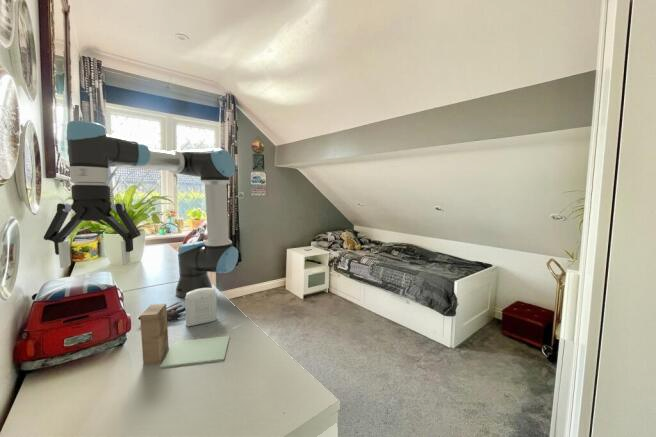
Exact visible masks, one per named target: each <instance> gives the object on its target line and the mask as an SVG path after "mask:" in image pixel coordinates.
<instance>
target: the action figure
mask: <svg viewBox="0 0 656 437" xmlns="http://www.w3.org/2000/svg"><path fill="white" fill-rule="evenodd" d="M180 303H181V301H177V302H176V303H173V304H171V305H169V306H168V307H167V306H166V310H167V322H176V321H180V318H183V317H186V314H185V307H183V306H184V305H183V304H180ZM178 304H179V305H178ZM176 305H177V306H176ZM182 307H183V308H182ZM138 321H139V322H140V323H141V321H140V316H139V317H138Z"/></svg>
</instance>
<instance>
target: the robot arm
mask: <svg viewBox="0 0 656 437" xmlns="http://www.w3.org/2000/svg"><path fill="white" fill-rule="evenodd" d="M65 139H66V141H67V156H68V163H69V174H70V182H71V183H73V185H71V186H70V190H71V200H72V204H71V203H69V202H63V203H61V202H60V203H57V205H56V213H55V214H54V217H53V218H52V219H51V220H52V221H51V223H49V226H48V227H47V230H46V232H45V234H44V236H43V240H45V241H50V242H53V245H54V253H55V255H56V256H57V255H58V257H59V267H60V269H65V268H67V267H70V266H71V262H72V261H71V249H70V240H67V238H68V237H69V236H70V234H72V233H73V231H75V229H77V227H78V226H79V225H80V224H81V223H82V222H83V221H84V222H85V221H86V222H87V221H89V222H90V221H94V222H95V221H102V222H104V223H106V224H108V226H109V227H111V229H113V231H115V232H116V233H117V234H118V235H119V236H120V237H121V238H122V240H121V241H120V246H121V247H120V249H121V263H122V266H125V265H129V264H130V263H131V252H132V251H134V239H135V238H138V237H140V236H141V235H142V234H141V232H140V230H139V229H138V227H137V226H136V224H135V223H134V221H133V220H132V217H131V216H130V215H129V212H127V208H126V204H125V203H124V202H120V203H116V204H115V203H114V204H112V202H111V187H110V186H109V185H107V184H110V174H109V173H110V171H109V170H110V169H109V167H111V168H113V167H114V168H123V169H124V168H128V169H140V170H141V169H143V170H155V171H169V172H170V173H172V174H179V175H185V176H190V177H200V182H201V183H202V184H203V185H204V192H205V195H204V196H205V197H204V198H205V211H206V214H205V215H206V216H205V217H206V230H207V232H206V234H207V240H206V241H205V240H204V241H202V240H201V241H192V242H187V243H183V244H181V245H179V247H178V250H177V252H178V253H177V257H178V273H179V276H178V281H177V283H176V288H175V296H177V297H178V298H185V297H186V293H188V292H190V291H193V290H196V289H200V288H213V284H212V281H211V279H210V277H209V274H208V272H209V273H218V274H222V273H223V274H227V273H230V272H232V271H233V270H234V269H235V267H236V265H237V263H238V260H239V251H238V249H237V248H236V247H235V246H233V241H232V240H231V239H230V238H229V220H228V199H227V198H228V197H227V196H228V195H227V185H228V183H230V180H231V179H230V177H232V176H233V175H234V174H235V171H236V164H235V160H234V158H233V156H232V155H231V153H230V152H229V151H228V150H226V149H224V148H223V149H222V148H205V149H204V148H203V149H200V148H199V149H198V148H196V149H187V150H178V149H171V150H170V151H169V150H168V151H166V150H162V149H161V150H160V149H156V148H155V149H154V148H149V146H148V145H147V144H146V143H145V142H142V141H139V140H136V139H130V138H125V137H119V136H113V135H109V134H108V132H107V128H106V127H105V126H104V125H103V124H101V123H97V122H93V121H88V120H86V121H85V120H71V121H69V122H68V123H67V125H66V138H65ZM112 210H113V211H114V212H115V213H117V215H118V217H119V219H120V220H121V222H122V223H123V225H124V226H123V225H122V223H120V222H119V221H118V219H116V218H115V216H114V215H112V213H111V212H112ZM72 211H73V212H74V215H72V217H70V220H69V221H68V222H67V223H66V224H65V225H64V223H65V221H66V219H67V217H68V215H69V213H70V212H72ZM63 226H64V227H63ZM62 227H63V228H62Z"/></svg>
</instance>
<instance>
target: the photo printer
mask: <svg viewBox="0 0 656 437" xmlns="http://www.w3.org/2000/svg"><path fill="white" fill-rule="evenodd" d="M184 298H185V299H184V305H185V306H184V308H185V311H184V312H185V314H186V315H185V326H186V327H192V326H193V327H194V326H197V325H201V324H207V323H210V322H214V321H217V318H218V316H217V315H218V314H217V313H218V310H217V309H218V308H217V292H216V289H215V288H213V287H212V288H200V289H196V290H193V291H190V292H188V293H186V297H184Z"/></svg>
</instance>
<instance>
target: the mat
mask: <svg viewBox="0 0 656 437" xmlns="http://www.w3.org/2000/svg"><path fill="white" fill-rule="evenodd" d="M230 338H231V337H230V335H228V336H227V335H226V336H217V337H207V338H198V339H197V338H196V339H190V340H179V341H175V342H174V343H173V344H172V346H171V347H170V349H169V351H168V352H167V354H166V356H165V358H164V359H163V361H162V363H161V365H160V366H159V368H160V369H163V368H172V367H180V366H188V365H196V364H204V363H212V362H214V363H215V362H220V361H225V357H226V354H227V349H228V346H229V340H230Z"/></svg>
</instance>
